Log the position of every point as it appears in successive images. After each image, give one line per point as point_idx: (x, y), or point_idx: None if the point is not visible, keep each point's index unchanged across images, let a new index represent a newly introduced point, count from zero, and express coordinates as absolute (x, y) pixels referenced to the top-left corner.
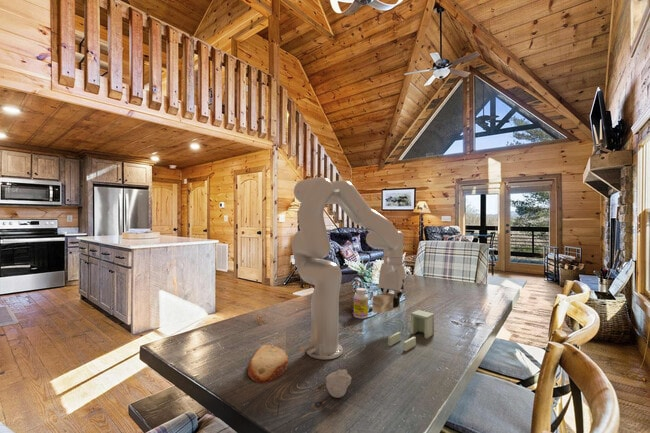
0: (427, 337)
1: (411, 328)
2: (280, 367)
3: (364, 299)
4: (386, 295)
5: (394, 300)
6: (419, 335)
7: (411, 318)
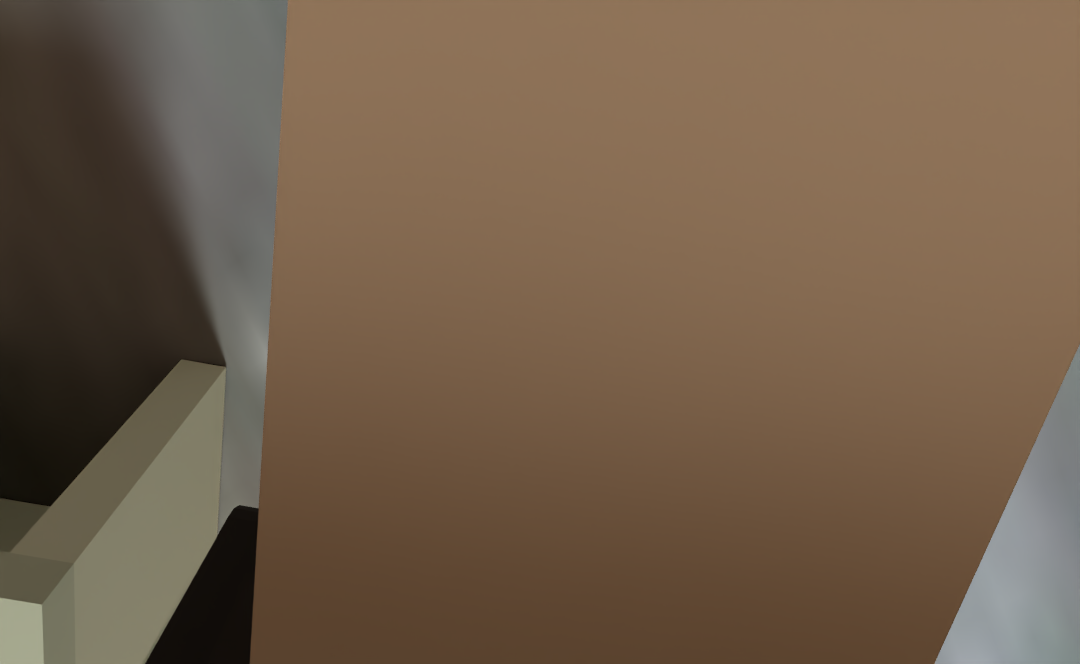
0: None
1: (182, 409)
2: None
3: None
4: (484, 348)
5: (252, 576)
6: (75, 367)
7: (96, 521)
